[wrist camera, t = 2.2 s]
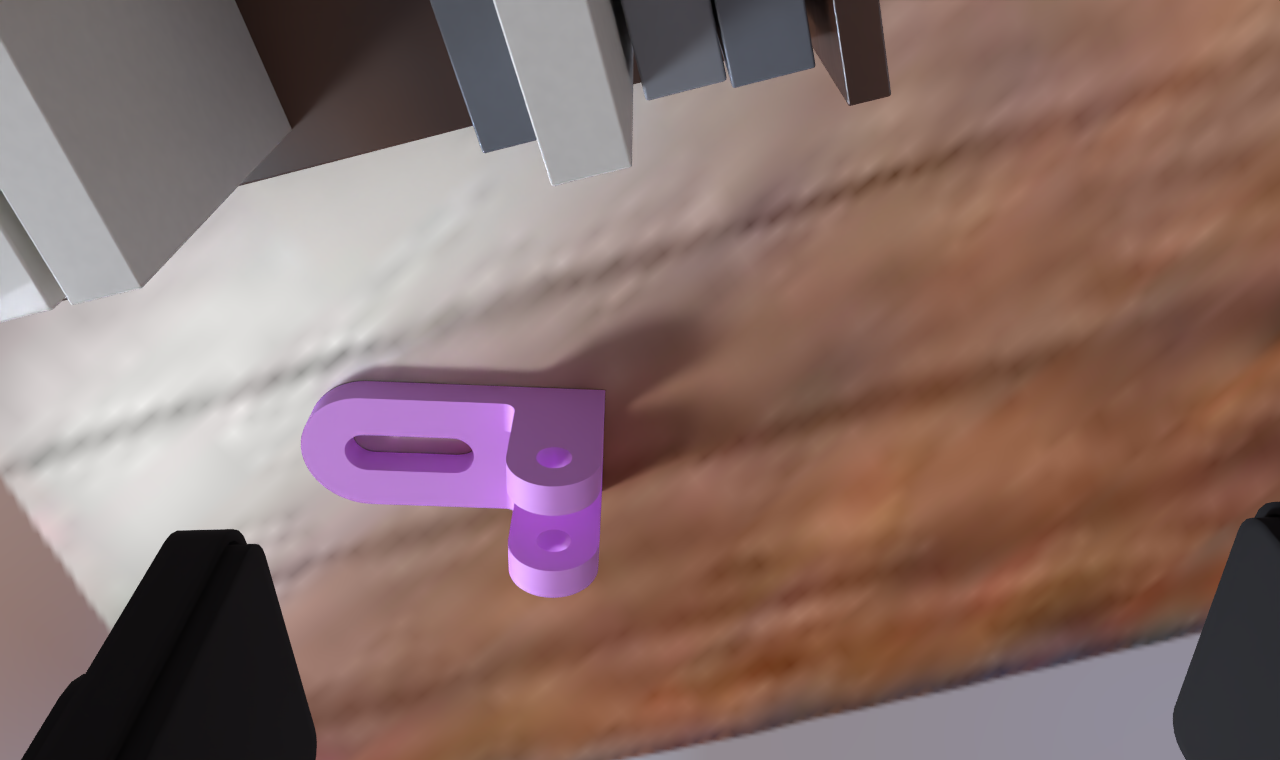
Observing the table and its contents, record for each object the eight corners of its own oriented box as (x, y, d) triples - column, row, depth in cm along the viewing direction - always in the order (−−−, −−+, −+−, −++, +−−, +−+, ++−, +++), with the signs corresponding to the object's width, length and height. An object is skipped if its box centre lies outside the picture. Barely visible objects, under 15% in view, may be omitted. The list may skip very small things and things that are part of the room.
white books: (188, -108, 33) (-44, -41, 21) (292, 129, 37) (142, 288, 25) (62, -70, 33) (-227, 14, 22) (179, 159, 37) (-16, 327, 26)
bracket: (605, 390, 44) (600, 488, 38) (601, 492, 47) (596, 598, 41) (302, 378, 43) (249, 475, 38) (317, 482, 46) (270, 588, 40)
